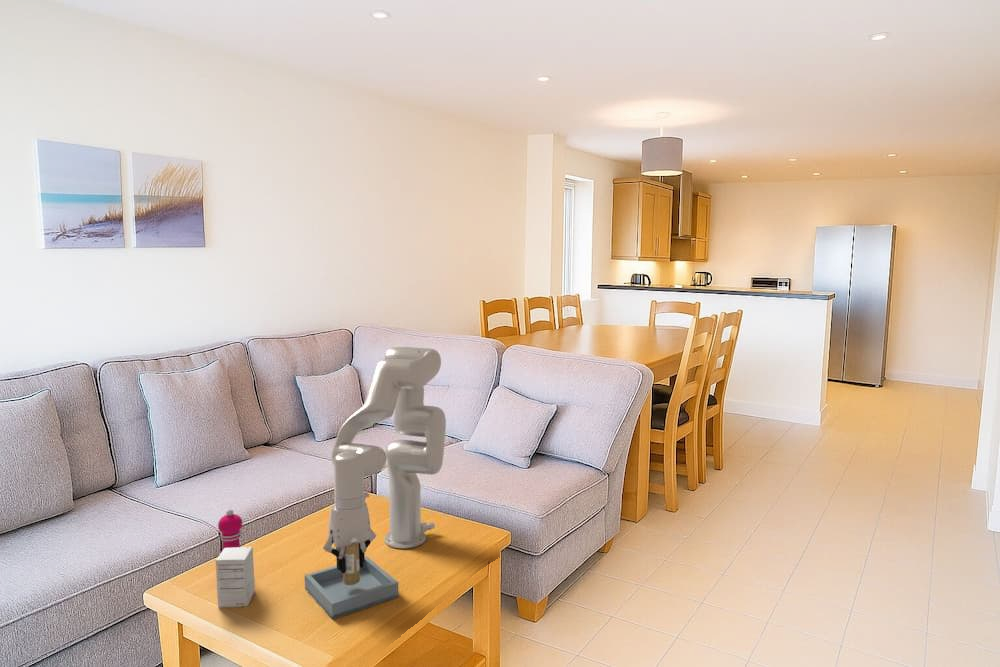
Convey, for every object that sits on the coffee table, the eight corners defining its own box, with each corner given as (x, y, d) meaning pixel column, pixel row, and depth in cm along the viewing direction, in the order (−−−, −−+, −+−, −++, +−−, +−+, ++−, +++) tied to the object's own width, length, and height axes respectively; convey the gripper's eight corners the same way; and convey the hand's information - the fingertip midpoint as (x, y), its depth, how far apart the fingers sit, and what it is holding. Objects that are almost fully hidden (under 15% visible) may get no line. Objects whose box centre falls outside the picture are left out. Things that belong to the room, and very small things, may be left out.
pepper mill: (252, 576, 182) (250, 506, 180) (234, 589, 175) (231, 516, 173) (231, 572, 184) (228, 502, 182) (212, 584, 178) (208, 512, 175)
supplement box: (226, 593, 173) (224, 546, 172) (255, 592, 174) (253, 546, 172) (216, 608, 166) (214, 560, 164) (247, 607, 167) (245, 559, 165)
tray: (367, 570, 186) (367, 556, 186) (398, 597, 172) (398, 582, 172) (304, 589, 176) (304, 574, 175) (332, 619, 161) (331, 604, 161)
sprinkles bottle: (363, 580, 174) (363, 531, 172) (350, 587, 170) (349, 537, 169) (351, 575, 177) (350, 527, 175) (338, 582, 173) (337, 533, 171)
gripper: (373, 489, 179) (374, 554, 181) (312, 503, 169) (314, 571, 171) (385, 498, 173) (386, 565, 175) (323, 513, 163) (325, 583, 165)
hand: (350, 567), depth 173 cm, fingers closed on sprinkles bottle, 4 cm apart
